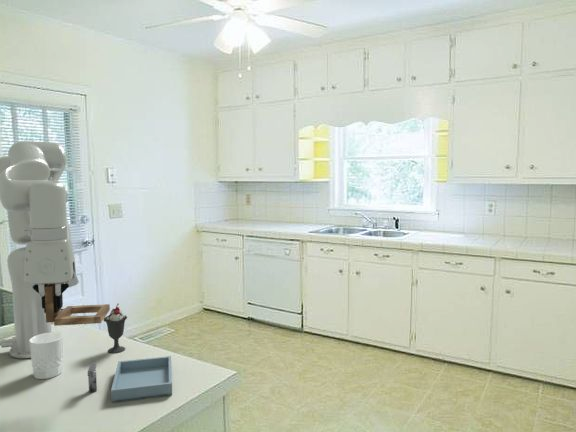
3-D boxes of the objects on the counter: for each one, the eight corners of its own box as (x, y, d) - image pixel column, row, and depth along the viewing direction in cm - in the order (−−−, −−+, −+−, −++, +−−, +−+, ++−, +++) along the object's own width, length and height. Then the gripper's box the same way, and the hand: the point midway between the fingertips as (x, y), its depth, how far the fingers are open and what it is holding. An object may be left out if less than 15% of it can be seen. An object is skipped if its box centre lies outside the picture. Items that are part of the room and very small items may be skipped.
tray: (111, 402, 102) (111, 390, 102) (118, 372, 118) (118, 361, 117) (172, 395, 106) (171, 383, 105) (171, 366, 121) (171, 356, 121)
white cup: (71, 369, 119) (69, 334, 118) (46, 382, 111) (45, 345, 110) (49, 365, 121) (47, 330, 120) (24, 377, 114) (22, 341, 113)
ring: (42, 326, 98) (40, 289, 98) (56, 312, 108) (55, 279, 107) (100, 323, 101) (99, 287, 100) (109, 310, 111) (108, 277, 110)
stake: (87, 396, 105) (86, 371, 104) (90, 386, 110) (89, 362, 109) (95, 395, 105) (94, 370, 105) (98, 385, 110) (97, 362, 109)
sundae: (120, 355, 128) (118, 306, 127) (100, 353, 130) (98, 304, 128) (132, 346, 135) (131, 299, 133) (113, 344, 136) (111, 298, 135)
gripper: (5, 237, 96) (9, 318, 98) (80, 236, 99) (83, 314, 101) (19, 232, 104) (23, 307, 105) (89, 231, 107) (91, 304, 108)
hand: (52, 310), depth 103 cm, fingers closed on ring, 1 cm apart
